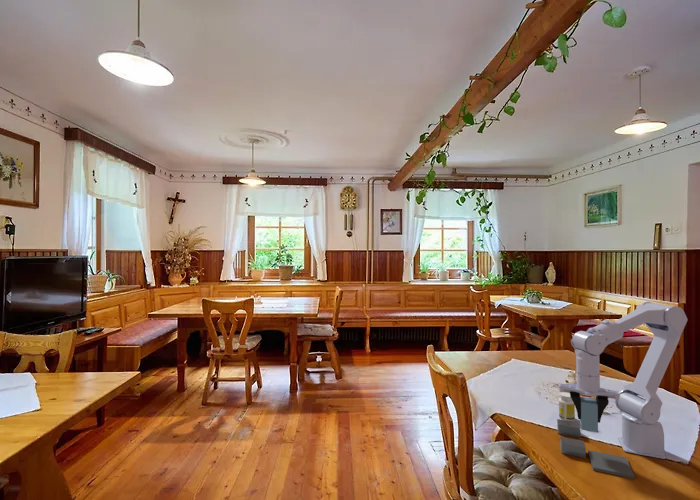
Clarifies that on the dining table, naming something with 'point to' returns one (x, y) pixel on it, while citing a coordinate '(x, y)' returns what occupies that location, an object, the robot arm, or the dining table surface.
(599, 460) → the pad
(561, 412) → the supplement bottle
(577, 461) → the dining table surface
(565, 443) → the vise
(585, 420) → the peg
